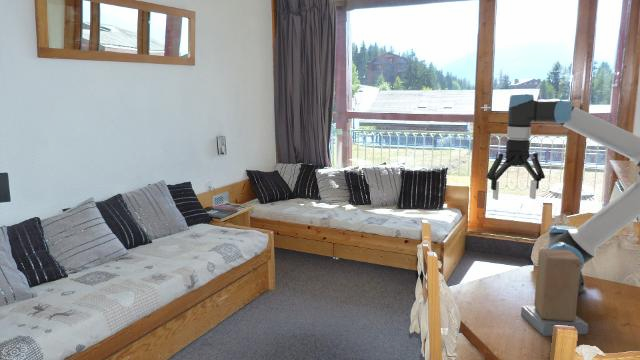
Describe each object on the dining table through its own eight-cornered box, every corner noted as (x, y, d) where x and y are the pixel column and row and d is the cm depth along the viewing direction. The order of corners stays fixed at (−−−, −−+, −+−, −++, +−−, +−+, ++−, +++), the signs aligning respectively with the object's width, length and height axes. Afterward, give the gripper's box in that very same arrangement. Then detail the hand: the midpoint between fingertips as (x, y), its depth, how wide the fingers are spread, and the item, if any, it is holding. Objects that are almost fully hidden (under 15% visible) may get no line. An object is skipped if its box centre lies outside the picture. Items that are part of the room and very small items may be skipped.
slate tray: (561, 313, 163) (562, 303, 163) (587, 333, 150) (588, 324, 149) (520, 314, 162) (521, 305, 162) (543, 335, 149) (543, 325, 148)
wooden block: (576, 323, 150) (582, 260, 146) (541, 320, 151) (546, 258, 148) (566, 308, 159) (571, 249, 155) (533, 306, 161) (538, 247, 157)
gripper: (547, 137, 175) (542, 195, 179) (479, 138, 173) (475, 196, 177) (558, 139, 168) (553, 200, 172) (487, 140, 166) (483, 201, 170)
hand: (513, 198), depth 175 cm, fingers open, 13 cm apart
